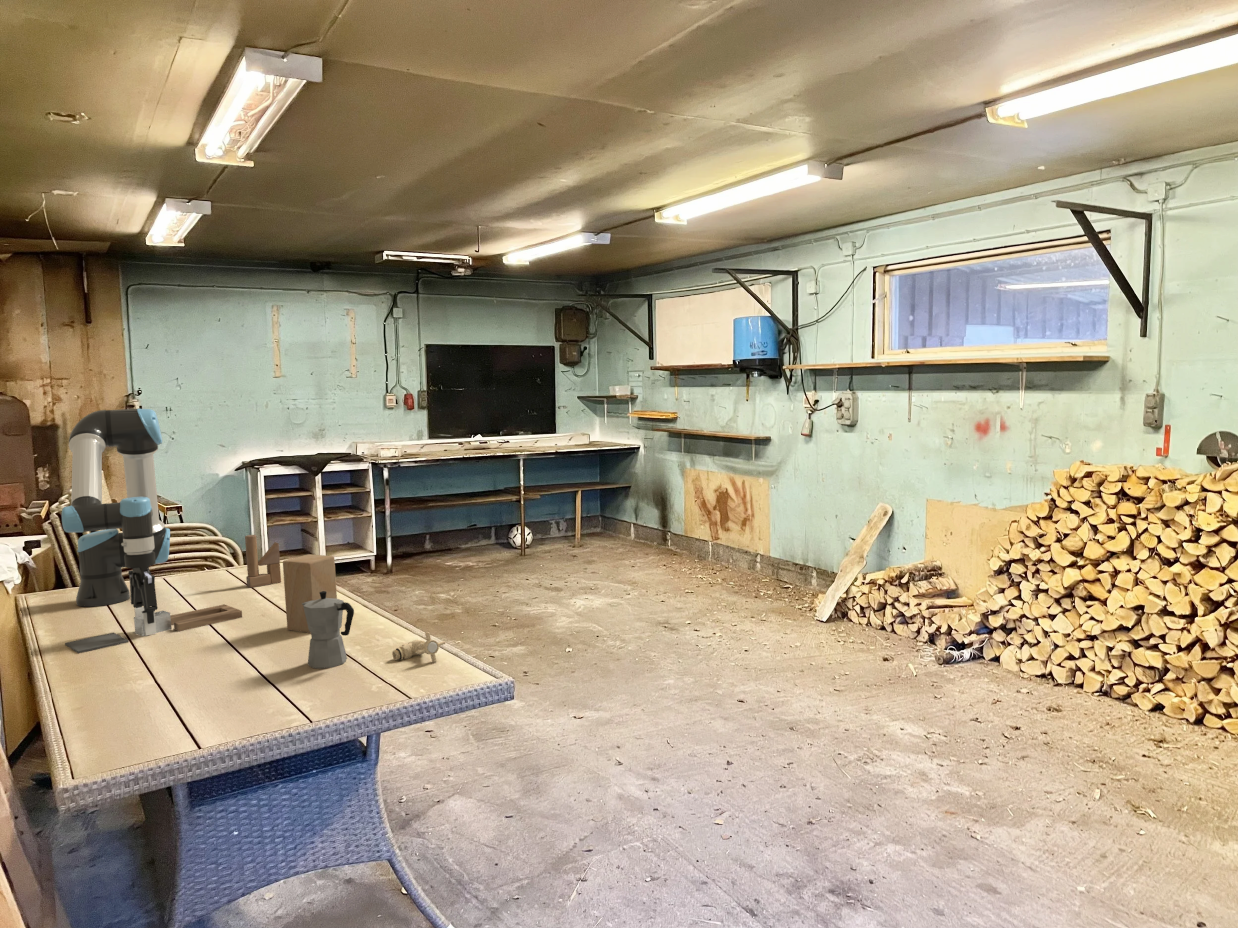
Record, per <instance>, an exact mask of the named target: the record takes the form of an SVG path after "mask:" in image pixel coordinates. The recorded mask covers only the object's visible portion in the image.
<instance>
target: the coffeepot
mask: <svg viewBox="0 0 1238 928" xmlns="http://www.w3.org/2000/svg"><path fill="white" fill-rule="evenodd" d="M326 593H327V592H326V591H322V592H320V596H321V599H318V600H312V601H308V602H304V603H302V605H304V606H303V607H304V611H305V616H306V620H307V624H308V629H309V631H310V632H311V633H310V634H311V635H310V636H311V638H310V640H309V648H308V649H309V650H308V656H307V657H308V658H307V666H309V667H310V668H312V669H319V670H320V669H322V670H323V669H330V668H331V669H332V668H336V667H339V666H341V665H343V664H345V663H346V661H347V659H348V655H347V653H346V647H345V644H344V639H343V636H345V637H346V636H349V634H350V631H351V627H352V622H353V620H354V619H353V617H354V614H355V610H354V608H353V606H352V605H351V603H349V602H345V601H344V600H343V599H339V598H337V599H335V598H326ZM344 611H346V621H345V624H344V631H341V629H342V626H343V624H342V622H343V613H344Z"/></svg>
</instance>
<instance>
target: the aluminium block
mask: <svg viewBox="0 0 1238 928" xmlns="http://www.w3.org/2000/svg"><path fill="white" fill-rule="evenodd" d="M170 615H171V612H168V611H166V610H160V611H155V623H156V633H155V634H157V633H163V632H166V631H170V630H172V625H171V617H170ZM133 622H134V633H135V635H137V636H141V637H145V636H146V637H147V635H145V629H144V617H143V615H142V616H137V617H135V616H133Z"/></svg>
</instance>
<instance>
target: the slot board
mask: <svg viewBox="0 0 1238 928" xmlns="http://www.w3.org/2000/svg"><path fill="white" fill-rule="evenodd" d="M170 617H171V626H173V627H174V630H176V631H177V632H182V631H187V630H191V629H196V628H200V627H204V626H209V625H212V624H217V623H222V622H227V621H231V620H236V619H241V618H243V610H241V609H238V608H235V607H233V606H231V605H227V604H220V605H215V606H209V607H206V608H200V609H196V610H195V609H194V610H190V611H186V612H182V613H177V614H170Z"/></svg>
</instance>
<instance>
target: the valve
mask: <svg viewBox="0 0 1238 928" xmlns="http://www.w3.org/2000/svg"><path fill="white" fill-rule="evenodd" d="M424 635H425V639H426V641H424V640H422V639H414V640H411V641H409V642H407V643H403V644H402V645H400V646H399V647H397V648H396V649H394V650H392V652H391V653H392V657H393V660H395V661H397V660H400V661H402V660H403V659H404V660H405V659H410V658H412V657H413V656H420V655H423V654H426V655H429V656H430V659H431V662H432V663H437V661H438V660H437V658H436V657H437V656H436V654H437V653H438V651H439V649H440V647H441V646H443V645H445V644H446V643H447V642H446V641H444V640H443V641H440V642H438V641H436V640H434V639H431V633H430V632H429V631H427V632H425V633H424Z"/></svg>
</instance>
